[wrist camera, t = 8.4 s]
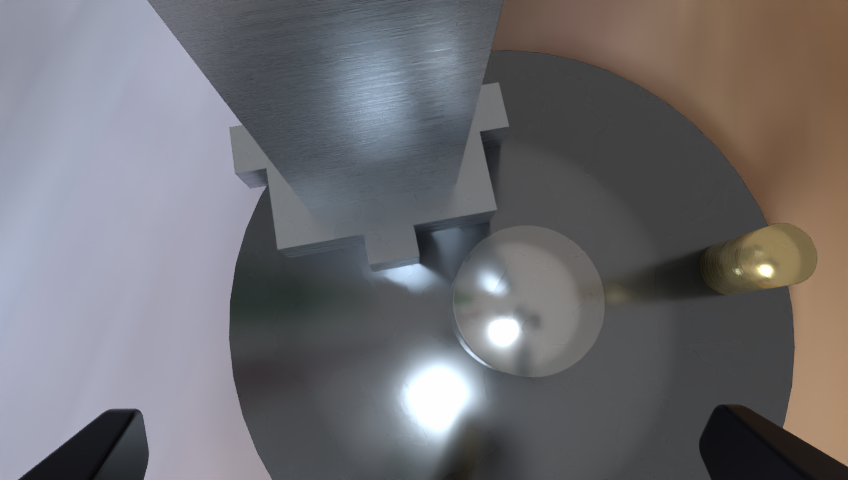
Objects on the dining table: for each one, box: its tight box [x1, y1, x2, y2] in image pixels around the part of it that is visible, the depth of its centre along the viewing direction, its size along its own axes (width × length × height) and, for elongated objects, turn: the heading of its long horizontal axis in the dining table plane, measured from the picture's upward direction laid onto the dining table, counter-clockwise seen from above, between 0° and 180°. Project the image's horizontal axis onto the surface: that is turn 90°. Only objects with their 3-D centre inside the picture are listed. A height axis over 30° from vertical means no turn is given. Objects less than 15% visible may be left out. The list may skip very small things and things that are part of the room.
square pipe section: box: [148, 0, 509, 272], centre depth 12 cm, size 9×9×13 cm
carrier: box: [229, 50, 817, 480], centre depth 17 cm, size 19×19×4 cm
